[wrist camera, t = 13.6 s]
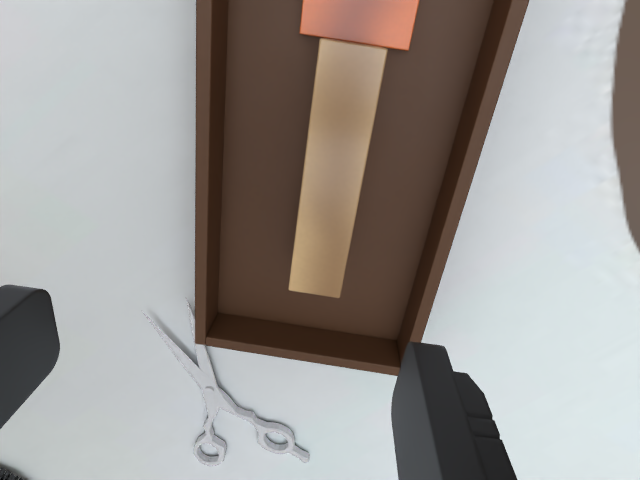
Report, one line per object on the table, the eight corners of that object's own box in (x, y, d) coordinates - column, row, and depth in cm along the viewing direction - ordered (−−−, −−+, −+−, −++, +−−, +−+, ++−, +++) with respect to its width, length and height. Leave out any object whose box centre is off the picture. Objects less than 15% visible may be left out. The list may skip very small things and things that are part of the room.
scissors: (208, 477, 41) (102, 319, 33) (210, 470, 42) (107, 313, 34) (309, 462, 39) (222, 289, 31) (310, 454, 40) (225, 283, 31)
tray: (210, 312, 33) (194, 344, 30) (225, -243, 19) (196, -305, 16) (403, 343, 33) (409, 378, 30) (561, -192, 19) (606, -242, 16)
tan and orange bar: (277, 252, 29) (265, 287, 25) (320, -154, 20) (312, -204, 15) (361, 266, 29) (362, 302, 25) (446, -135, 19) (470, -179, 15)
